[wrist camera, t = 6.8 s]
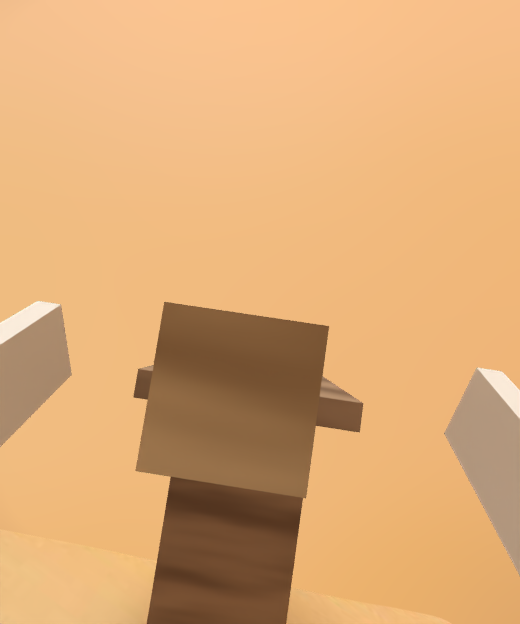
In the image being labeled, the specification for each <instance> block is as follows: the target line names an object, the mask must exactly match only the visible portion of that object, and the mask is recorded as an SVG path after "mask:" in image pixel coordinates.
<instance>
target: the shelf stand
mask: <svg viewBox="0 0 520 624" xmlns="http://www.w3.org/2000/svg"><path fill="white" fill-rule="evenodd" d="M153 366H154V365H152V366H148V367H144V368H140V369H138V374H137V380H136V385H135V391H134V397H135V398H142V399H148V395H149V389H150V383H151V378H152V372H153ZM362 409H363V403H362V402H360V401H359V400H357V399H356V398H354V397H353V396H351V395H350V394H348V393H347V392H345V391H344V390H342V389H341V388H339V387H338V386H336V385H335V384H333V383H332V382H330V381H329V380H327V379H325V378H324V377H323V376H322V382H321V390H320V397H319V405H318V412H317V419H316V426H322V427H328V428H335V429H342V430H348V431H354V432H360V425H361V417H362ZM302 500H303V498H301V497H295V496H289V495H282V494H276V493H270V492H264V491H257V490H251V489H245V488H239V487H233V486H226V485H220V484H214V483H208V482H201V481H195V480H189V479H183V478H176V477H171V479H170V485H169V491H168V497H167V503H166V510H165V516H164V522H163V528H162V534H161V540H160V546H159V553H158V559H157V565H156V571H155V577H154V583H153V589H152V595H151V601H150V608H149V614H148V620H147V624H286V619H287V612H288V604H289V597H290V590H291V582H292V575H293V567H294V559H295V552H296V544H297V537H298V529H299V523H300V514H301V508H302Z"/></svg>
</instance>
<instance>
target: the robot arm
mask: <svg viewBox="0 0 520 624" xmlns="http://www.w3.org/2000/svg"><path fill="white" fill-rule="evenodd" d="M70 376H71V367H70V361H69V354H68V348H67V341H66V335H65V328H64V321H63V315H62V308H61V305H60V304H54V303H47V302H41V301H37V302H35V303H33V304H32V305H30V306H28V307H27V308H25V309H23V310H21V311H20V312H18V313H16V314H15V315H13V316H11V317H10V318H8V319H6V320H4V321H3V322H1V323H0V447H1V446H2V445H3V443H5V441H6V440H8V438H10V436H11V435H12V434H14V432H15V431H16V430H17V429H18V428H19V427H20V426H21V425H22V424H23V423H24V422H25V421H26V420H27V419H28V418H29V417H30V416H31V415H32V414H33V413H34V412H35V411H36V410H37V409H38V408H39V407H40V406H41V405H42V404H43V403H44V402H45V401H46V400H47V399H48V398H49V397H50V396H51V395H52V394H53V393H54V392H55V391H56V390H57V389H58V388H59V387H60V386H61V385H62V384H63V383H64V382H65V381H66V380H67V379H68V378H69V377H70ZM444 434H445V436H446V438H447V439H448V441H449V443H450V445H451V447H452V449H453V451H454V453H455V455H456V456H457V458H458V460H459V462H460V464H461V466H462V468H463V469H464V471H465V473H466V475H467V477H468V479H469V481H470V483H471V485H472V487H473V488H474V490H475V492H476V494H477V496H478V498H479V500H480V502H481V503H482V505H483V507H484V509H485V511H486V513H487V515H488V517H489V518H490V521H491V522H492V524H493V526H494V528H495V530H496V532H497V533H498V535H499V537H500V539H501V541H502V543H503V545H504V547H505V548H506V551H507V553H508V554H509V556H510V558H511V560H512V562H513V564H514V566H515V568H516V570H517V571H518V573H519V575H520V390H519V389H518V388H517V387H516V386H515V385H514V384H513V383H512V382H511V381H510V380H509V379H508V377H507V376H506V375H505V374H504V373H503V372H501V371H495V370H489V369H482V368H476V370H475V372H474V374H473V376H472V378H471V380H470V382H469V385H468V386H467V388H466V391H465V393H464V395H463V397H462V399H461V401H460V403H459V405H458V407H457V409H456V411H455V413H454V415H453V417H452V419H451V421H450V423H449V425H448V427H447V429H446V431H445V433H444Z"/></svg>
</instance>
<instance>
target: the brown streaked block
mask: <svg viewBox="0 0 520 624" xmlns="http://www.w3.org/2000/svg"><path fill="white" fill-rule="evenodd" d="M328 330H329V326H324V325H316V324H310V323H303V322H297V321H290V320H282V319H276V318H269V317H263V316H256V315H248V314H242V313H235V312H229V311H222V310H215V309H209V308H202V307H195V306H188V305H182V304H174V303H168V302H164V308H163V313H162V319H161V325H160V331H159V337H158V343H157V348H156V354H155V360H154V366H153V372H152V378H151V383H150V389H149V395H148V402H147V408H146V413H145V419H144V425H143V430H142V436H141V442H140V448H139V454H138V460H137V466H136V471H139V472H146V473H152V474H158V475H164V476H170V477H176V478H183V479H189V480H195V481H201V482H208V483H214V484H220V485H226V486H233V487H239V488H245V489H251V490H257V491H264V492H270V493H276V494H282V495H289V496H295V497H301V498H306V494H307V487H308V479H309V471H310V464H311V456H312V449H313V442H314V434H315V426H316V419H317V412H318V405H319V397H320V390H321V382H322V375H323V367H324V360H325V352H326V345H327V337H328Z"/></svg>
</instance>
